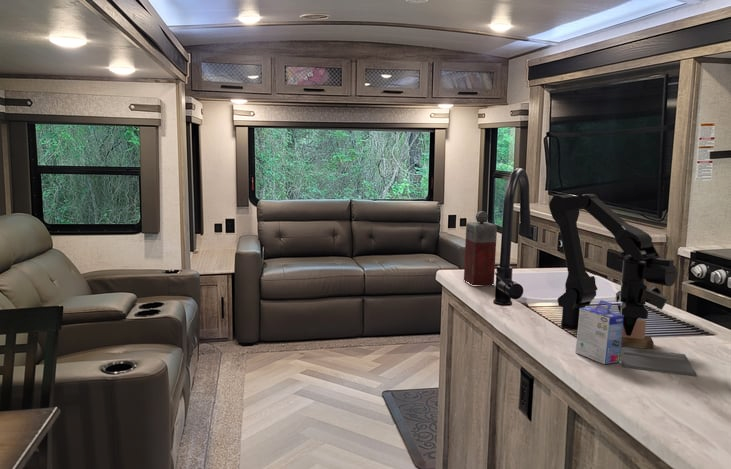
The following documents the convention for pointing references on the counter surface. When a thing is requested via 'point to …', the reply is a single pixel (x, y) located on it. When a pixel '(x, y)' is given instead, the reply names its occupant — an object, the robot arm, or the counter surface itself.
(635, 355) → the mat
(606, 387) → the counter surface
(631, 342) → the stand
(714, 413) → the counter surface
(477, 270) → the square decanter
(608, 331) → the ink cartridge box
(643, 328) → the tile
